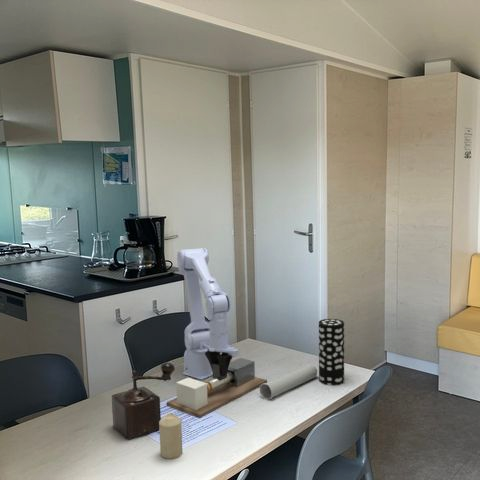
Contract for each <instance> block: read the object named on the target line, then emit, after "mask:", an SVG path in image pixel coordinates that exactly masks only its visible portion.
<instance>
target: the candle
mask: <svg viewBox="0 0 480 480" xmlns="http://www.w3.org/2000/svg"><path fill="white" fill-rule="evenodd" d="M182 430H183V429H182V419H181V418H180V417H179V416H177V415H176V414H173V413H171V412H169V413H167V414H166V415H164V416H163V417H162V418H161V420H160V421H159V442H160V443H159V445H160V446H159V447H160V449H159V450H160V456H161V457H163V458H164V459H170V460H171V459H176V458H178V457H180V456H182V454H183V433H182V432H183V431H182Z"/></svg>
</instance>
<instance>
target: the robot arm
mask: <svg viewBox="0 0 480 480" xmlns="http://www.w3.org/2000/svg"><path fill="white" fill-rule="evenodd" d="M176 256H177V257H176V259H177V260H176V261H177V268H178V269H177V270H178V272H179V274H180V275H182V276H183V278H184V282H185V288H186V295H187V304H188V309H189V310H188V311H189V316H190V323H189V324H188V325H187V326H186V327H185V329H184V332H183V333H184V345H185V348H186V349H185V351H184V354H183V369H184V371H183V372H182V375H186V376H188V377H190V378H191V377H192V378H193V379H194V378H195V379H198V380H199V381H203V380H205V379H207V378H210V377H213V369H212V363H215V362H217V361H219V363H220V372H221V376H225V375H227V371H228V367H229V364H230V362H232V359H233V358H236V357H238V356H239V355H240V354H239V349H237V348H235V347H233V346H231V345H230V344H229V335H228V312H229V311H230V309H231V301H230V297H229V296H228V294H227V293H225V291H222V289H221V287H220V284H219V282H218V280H217V279H216V278H215V277H212V276H211V275H212V274H211V272H210V269H209V266H208V265H209V258H210V256H209V250H207V248H205V247H200V248H190V249H189V248H188V249H179V250H178V252H177V255H176ZM202 295H203V297H204V300H205V310H206V315H207V319H208V321H206V318H205V311H204V305H203V298H202Z"/></svg>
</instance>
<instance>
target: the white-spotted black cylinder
mask: <svg viewBox="0 0 480 480" xmlns="http://www.w3.org/2000/svg"><path fill="white" fill-rule="evenodd" d="M318 381H319V383H321V384H323V385H327V386H339V385H342V384H343V383H344V382H345V322H344V320H341V319H338V318H337V319H336V318H325V319H324V318H323V319H321V320H318Z"/></svg>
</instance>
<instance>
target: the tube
mask: <svg viewBox="0 0 480 480" xmlns="http://www.w3.org/2000/svg"><path fill="white" fill-rule="evenodd" d="M317 374H318V369H317V368H316V366H315V365H313V364H309V363H308V364H307V365H305V366H302V367H300V368H298V369H296V370H293V371H291V372H288V373H286V374H284V375H281V376H279V377H277V378H274V379H272V380H269V381H267V383H263V384H262V385H260V387H259V395H261V398H263V399H265V400H268V401H270V400H272V399H273V398H275V397H276V396H278V395H281V394H282V393H283V394H284V393H285V392H288V390H292V389H294V388H296V387H297V386H300V385H301V384H302V385H303V384H304V383H307V382H308V381H310V380H312V379H315V378H316V377H317V376H318V375H317Z"/></svg>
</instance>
